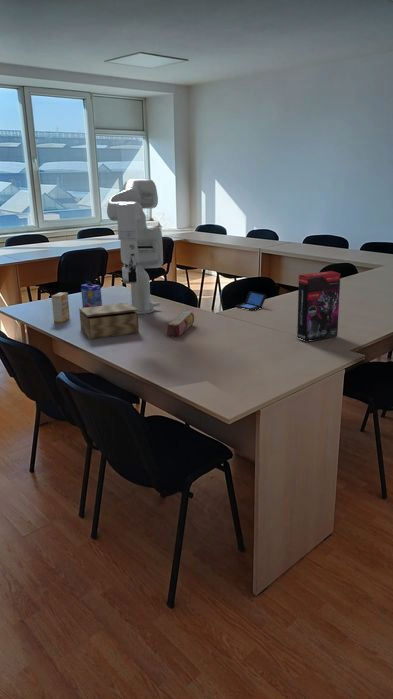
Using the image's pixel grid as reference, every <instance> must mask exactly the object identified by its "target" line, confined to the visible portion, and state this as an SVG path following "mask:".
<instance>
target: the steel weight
mask: <svg viewBox="0 0 393 699" xmlns="http://www.w3.org/2000/svg"><path fill="white" fill-rule="evenodd" d="M130 268H131V266H130ZM121 272H122V274H121V276H122V283H123V284H129V285H131V283H137V282H138V278H137V267H136V278H137V281H136V282H129V279H128V272H129V269H128V266H126V267H123V266H122V267H121Z"/></svg>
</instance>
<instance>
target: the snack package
mask: <svg viewBox="0 0 393 699" xmlns="http://www.w3.org/2000/svg"><path fill="white" fill-rule="evenodd" d="M194 322H195V315H194V312H192V311H187V310H186V311H182V312H181V313H180V314H179V315H178V316H176V317H174V319H173V320H172V321H171V322H170V323H168V324H167V326H166V335H167V336H168V337H169V338H179V337H180V336H181V335H182V334H183V333H185V331H187V330H188V329H189V328H190V327H191V326H192V325H193V324H194Z"/></svg>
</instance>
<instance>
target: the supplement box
mask: <svg viewBox="0 0 393 699" xmlns="http://www.w3.org/2000/svg"><path fill="white" fill-rule="evenodd" d="M68 294H69V292H57V293H55V294H52V295H51V304H52V305H51V306H52V314H53V323H65V322H67V320H70V318H71V317H70V304H69V303H70V302H69V295H68Z"/></svg>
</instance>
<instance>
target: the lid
mask: <svg viewBox="0 0 393 699" xmlns="http://www.w3.org/2000/svg"><path fill="white" fill-rule="evenodd" d="M79 311H81V312H82V313H83V314H85V315H86V316H87V317H90V316H99V315H108V314H116V313H125V312H134V311H138V309H136V308H135V307H133V306H132V304H129V303H116V304H107V305H102V306H96V307H87V308H83V307H80V308H79Z"/></svg>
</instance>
